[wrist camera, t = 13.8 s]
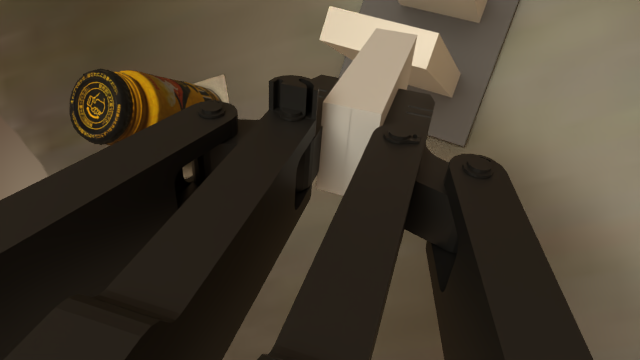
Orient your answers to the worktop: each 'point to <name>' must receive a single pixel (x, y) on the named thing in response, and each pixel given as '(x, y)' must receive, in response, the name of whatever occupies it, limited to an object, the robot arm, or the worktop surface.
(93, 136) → the condiment
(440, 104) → the mat
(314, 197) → the worktop surface
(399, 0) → the domino
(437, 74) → the domino
